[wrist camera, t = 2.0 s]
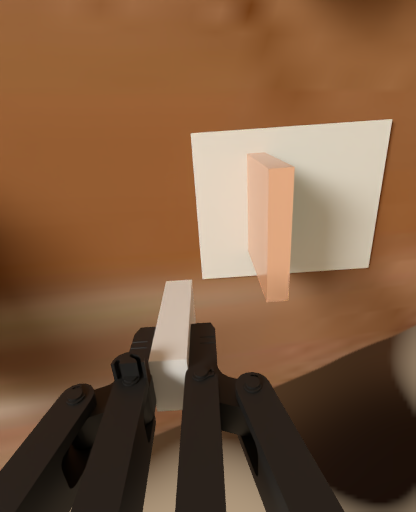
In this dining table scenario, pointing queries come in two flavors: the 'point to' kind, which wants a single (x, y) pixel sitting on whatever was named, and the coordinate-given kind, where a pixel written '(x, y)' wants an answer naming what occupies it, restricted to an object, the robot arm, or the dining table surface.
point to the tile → (270, 222)
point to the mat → (304, 197)
